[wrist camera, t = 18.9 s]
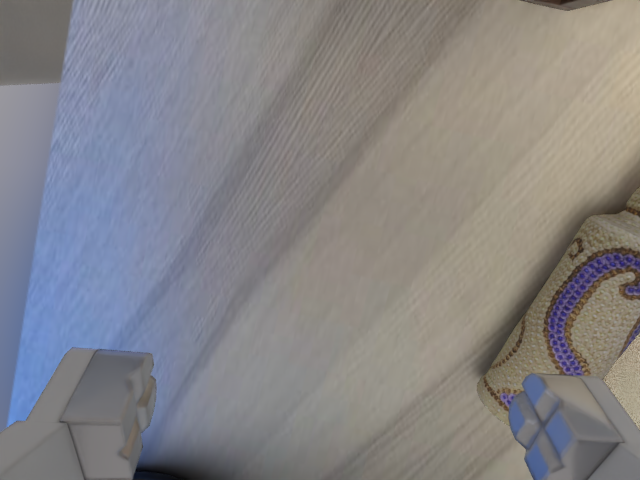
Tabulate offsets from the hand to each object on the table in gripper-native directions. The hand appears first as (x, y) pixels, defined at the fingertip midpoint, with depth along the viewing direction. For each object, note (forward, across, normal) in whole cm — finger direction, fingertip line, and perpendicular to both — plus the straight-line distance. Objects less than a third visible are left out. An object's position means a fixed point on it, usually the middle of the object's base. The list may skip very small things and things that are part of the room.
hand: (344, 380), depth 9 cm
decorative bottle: (+21, +24, -12) cm, 34 cm away
